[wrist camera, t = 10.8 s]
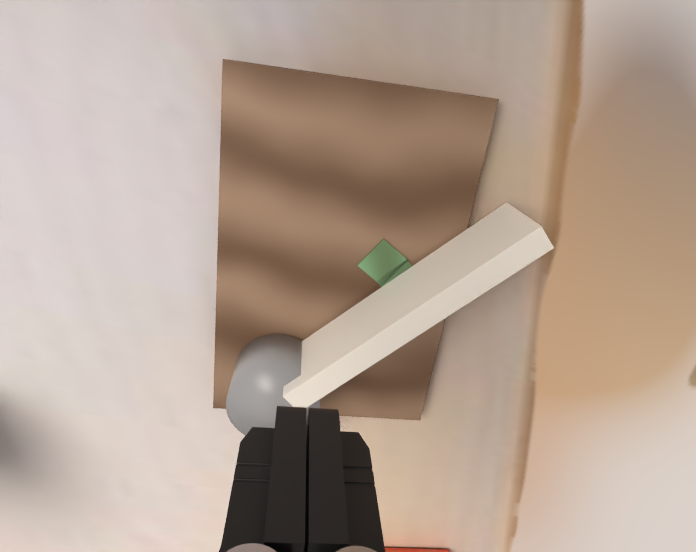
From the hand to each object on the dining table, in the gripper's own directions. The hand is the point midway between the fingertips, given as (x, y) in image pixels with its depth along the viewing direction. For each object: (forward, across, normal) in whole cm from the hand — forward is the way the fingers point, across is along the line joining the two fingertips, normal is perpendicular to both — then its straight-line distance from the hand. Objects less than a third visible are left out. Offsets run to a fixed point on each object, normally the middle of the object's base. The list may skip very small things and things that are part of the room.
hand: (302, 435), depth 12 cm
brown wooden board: (+21, -3, +4) cm, 22 cm away
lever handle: (+20, -5, +6) cm, 21 cm away
